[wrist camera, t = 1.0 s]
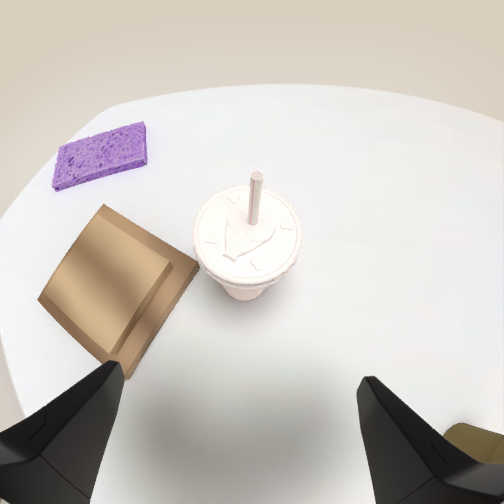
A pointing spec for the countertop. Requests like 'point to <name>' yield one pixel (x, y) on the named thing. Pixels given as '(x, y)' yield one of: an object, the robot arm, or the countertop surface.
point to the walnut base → (152, 311)
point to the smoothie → (247, 238)
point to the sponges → (100, 156)
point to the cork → (477, 443)
